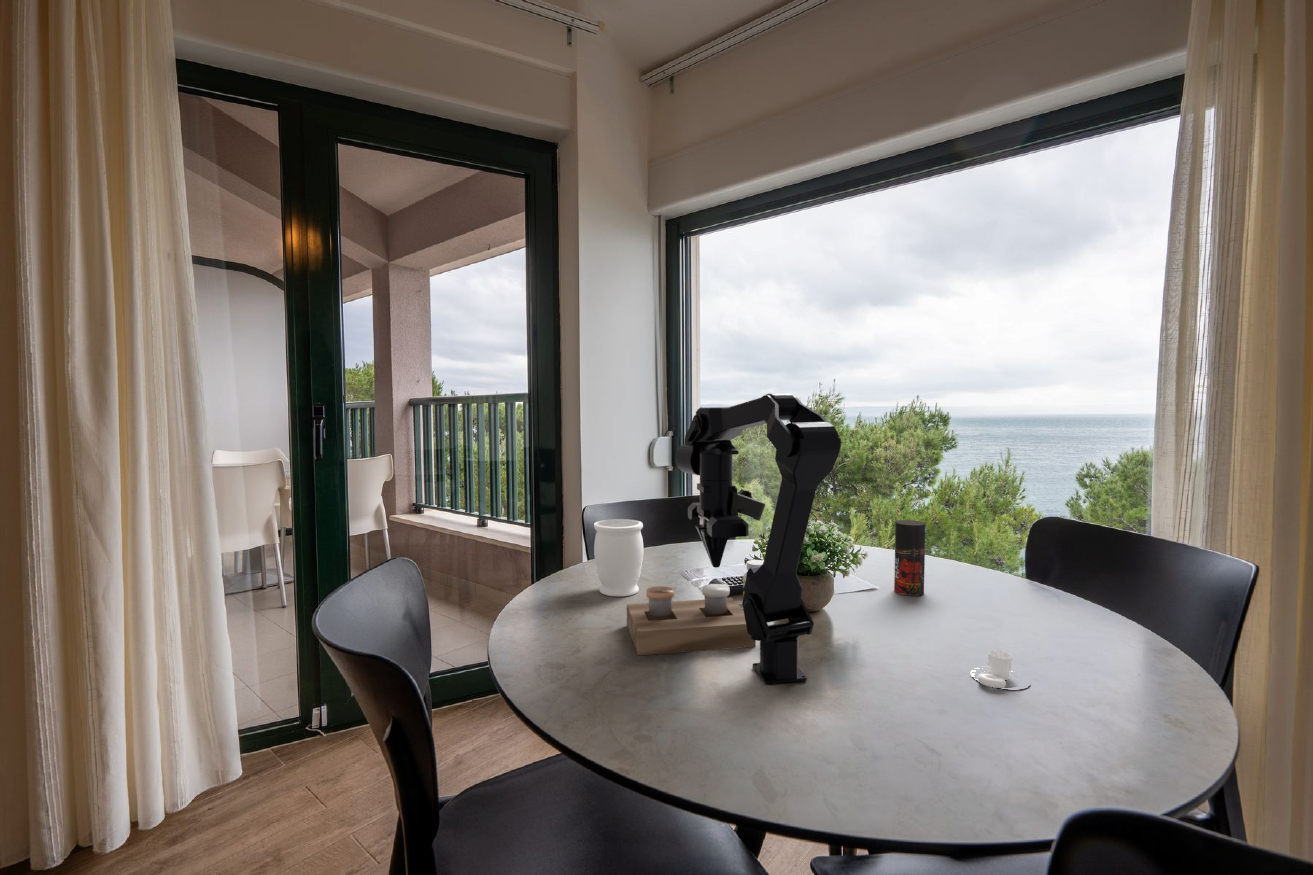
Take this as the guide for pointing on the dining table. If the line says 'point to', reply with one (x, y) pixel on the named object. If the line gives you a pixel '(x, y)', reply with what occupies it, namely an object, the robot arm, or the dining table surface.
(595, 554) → the jar
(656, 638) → the wooden socket block
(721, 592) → the plug
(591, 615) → the dining table surface
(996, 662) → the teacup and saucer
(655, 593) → the plug
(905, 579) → the deodorant
